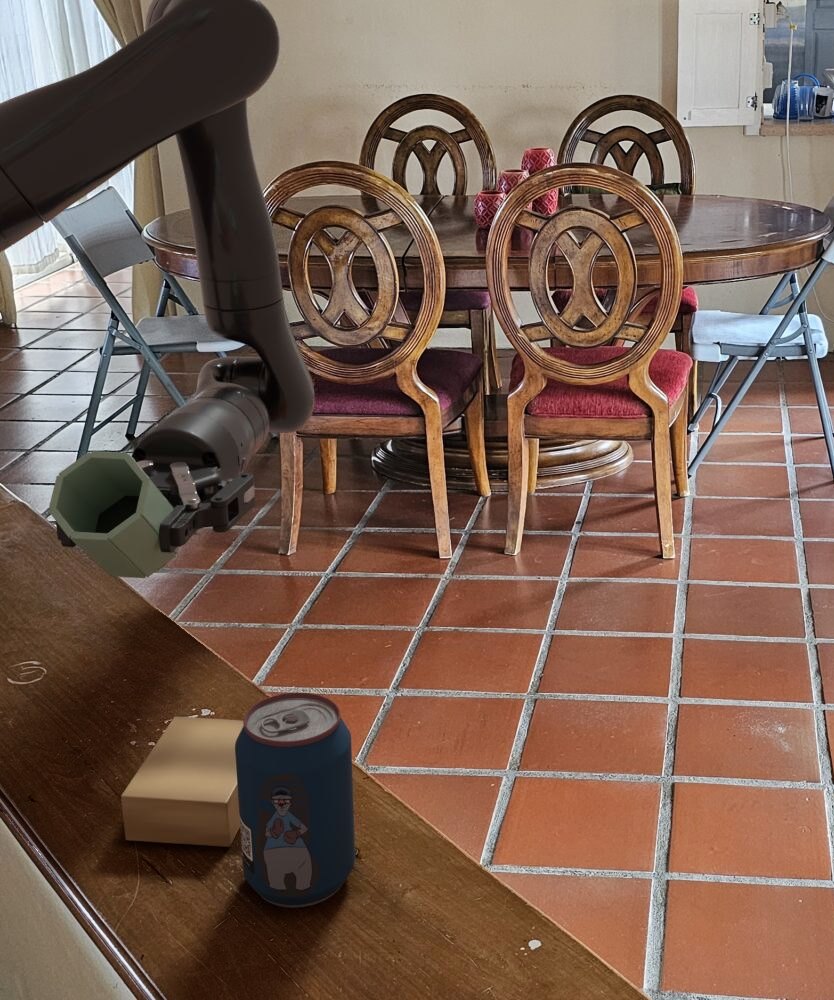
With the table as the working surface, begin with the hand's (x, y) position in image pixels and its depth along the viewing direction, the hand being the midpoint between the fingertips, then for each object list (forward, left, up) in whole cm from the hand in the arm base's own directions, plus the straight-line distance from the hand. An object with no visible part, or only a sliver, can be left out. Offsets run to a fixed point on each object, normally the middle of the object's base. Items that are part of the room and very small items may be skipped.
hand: (115, 537), depth 90 cm
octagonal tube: (+1, -1, -1) cm, 2 cm away
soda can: (+21, +1, -17) cm, 27 cm away
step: (+9, +1, -17) cm, 19 cm away
